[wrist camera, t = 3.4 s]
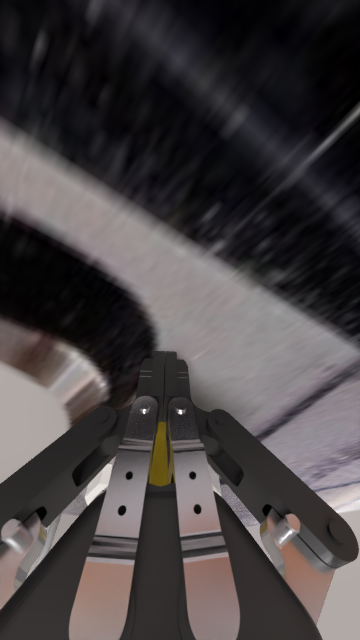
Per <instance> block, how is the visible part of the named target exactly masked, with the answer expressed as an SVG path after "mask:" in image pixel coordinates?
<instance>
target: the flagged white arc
mask: <svg viewBox="0 0 360 640" xmlns="http://www.w3.org/2000/svg"><path fill="white" fill-rule="evenodd" d="M112 466H113V465H112V464H107V465H106V466H105V467H104V468H103V469H102V470H101V471H100V472H99V473H98V474H97V476H96V477H95V478H94V479H93V480H92V481H91V482H90V483H89V485H88V488H87V492H86V496H85V499H86V502H87V505H89V504H90V503H91V502H92V501H93V500H94V499H95V498H96V497H97V496H99V495H100V494H101V493H103V491H102V490H104V489H105V488H106V487H107V486H108V484H109V480H110V475H111V471H112ZM208 468H209V473H210V478H211V483H212V487H213V491H215V492H216V493H218V494H219V495H220V496H221V497H222V494H221V488H220V482H219V476H218V475H217V474H216V472H215V471H214V470H213V469H212V468H211V466H210V465H209V464H208ZM62 512H63V511H62ZM62 512H61V513H60V514H59V515H58V517H57V518H56V519H55V520H54V521H53V522H52V523H51V524H50V527H49V530H48V533H47V539H46V543H45V546H44V548H43V550H42V552H41V554H40V555H39V558H38V561H37V564H36V567H37V566H38V564H39V563H40V562H41V561H42V560H43V558H44V557H45V556H46V555H47V554H48V552H49V551H50V548H51V545H52V542H53V539H54V536H55V533H56V530H57V526H58V524H59V521H60V517H61V515H62ZM36 567H35V568H36Z"/></svg>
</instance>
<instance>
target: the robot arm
mask: <svg viewBox="0 0 360 640" xmlns="http://www.w3.org/2000/svg"><path fill="white" fill-rule="evenodd" d="M164 359H165V366H164ZM162 407H163V421H162V422H166V434H165V438H166V456H167V485H164V486H157V485H153V484H150V482H151V472H152V464H153V456H154V449H155V441H156V435H157V432H158V422H161V420H162ZM116 454H117V455H116ZM115 456H116V458H115V462H114V466H113V469H112V473H111V477H110V480H109V484H108V488H107V490H106V491H105V492H103V493H101V494H100V495H99V496H97V497H96V498H95V499H94V500H93V501H92V502H91V503H90V504H89V505H88V506H87V507H86V508H85V510H84V511H83V512H82V513H81V514H80V516H79V517H78V518H77V519H76V520H75V522H74V523H73V524H72V525H71V526H70V528H69V529H68V530H67V531H66V532H65V533H64V535H63V536H62V537H61V538H60V539H59V541H58V542H57V543H56V544H55V546H54V547H53V548H52V549H51V550H50V551H49V552H48V554H47V555H46V556H45V557H44V558H43V560H42V561H41V562H40V563H39V564H38V566H37V567H36V568H35V569H34V570H33V572H32V573H31V574H30V575H29V576H28V577H27V574H28V572H29V570H30V568H31V566H32V565H33V563H34V562H35V560H36V559H37V558H38V556H39V555H40V554H41V552H42V550H43V548H44V546H45V543H46V539H47V529H46V528H47V527H48V526H49V525H50V524H51V523H52V522H53V521H54V520H55V519H56V518H57V517H58V515H59V514H60V513H61V512H62V511H63V510H64V509H65V508H66V507H67V506H68V505H69V504H70V503H71V502H72V501H73V500H74V499H75V498H76V497H77V495H78V494H79V493H80V492H81V491H82V490H83V489H84V488H85V487H86V486H87V485H88V484H89V483H90V482H91V481H92V480H93V479H94V478H95V477H96V476H97V474H98V473H99V472H100V471H101V470H102V469H103V468H104V467H105V466H106V465H107V464H108V463H109V462H110V461H111V460H112V459H113V458H114V457H115ZM207 461H208V462H209V463H210V465H211V466H212V467H213V468H214V469H215V471H216V472H217V473H218V474H219V475H220V477H221V478H222V479H223V480H224V481H225V482H226V484H227V485H228V486H229V487H230V488H231V490H232V491H233V492H234V493H235V494H236V496H237V497H238V498H239V499H240V500H241V501H242V503H243V504H244V505H245V506H246V507H247V509H248V510H249V511H250V512H251V513H252V515H253V516H254V517H255V518H256V519H257V521H258V522H259V523H260V524H261V525H260V536H261V540H262V543H263V545H264V547H265V548H266V550H267V552H268V553H269V555H270V557H271V559H272V561H273V564H274V565H273V564H272V562H271V561H270V560H269V558H268V557H267V556H266V554H265V553H264V552H263V550H262V549H261V548H260V546H259V545H258V544H257V542H256V541H255V540H254V538H253V537H252V536H251V534H250V533H249V532H248V530H247V529H246V528H245V526H244V525H243V524H242V522H241V521H240V519H239V518H238V517H237V515H236V514H235V513H234V511H233V510H232V509H231V507H230V506H229V505H228V504H227V502H226V501H225V500H224V499H223V498H222V497H221V496H220V495H219V494H218V493H216V492H215V491H213V487H212V483H211V478H210V473H209V468H208V463H207ZM358 552H359V548H358V543H357V539H356V537H355V535H354V533H353V531H352V529H351V528H350V526H349V525H348V524H347V522H346V521H345V520H344V519H343V518H342V517H341V516H340V515H339V514H337V513H336V512H335V511H334V510H333V509H332V508H331V507H330V506H329V505H328V504H327V503H326V502H324V501H323V500H322V499H321V498H320V497H319V496H318V495H317V494H316V493H315V492H314V491H313V490H311V489H310V488H309V487H308V486H307V485H306V484H305V483H304V482H303V481H302V480H301V479H299V478H298V477H297V476H296V475H295V474H294V473H293V472H292V471H291V470H290V469H289V468H288V467H286V466H285V465H284V464H283V463H282V462H281V461H280V460H279V459H278V458H277V457H276V456H275V455H273V454H272V453H271V452H270V451H269V450H268V449H267V448H266V447H265V446H264V445H263V444H261V443H260V442H259V441H258V440H257V439H256V438H255V437H254V436H253V435H252V434H251V433H250V432H248V431H247V430H246V429H245V428H244V427H243V426H242V425H241V424H240V423H239V422H238V421H237V420H235V419H234V418H233V417H232V416H231V415H230V414H229V413H228V412H226V411H224V410H221V409H216V410H213V411H211V412H210V413H209V412H206V411H203V410H201V409H199V408H197V407H196V406H195V405H194V404H193V403H192V401H191V396H190V385H189V375H188V366H187V364H186V362H185V361H184V360H177V353H176V352H169V351H166V353H165V351H154V355H153V359H147V358H145V360H144V361H143V362H142V364H141V369H140V375H139V381H138V387H137V394H136V398H135V400H134V402H133V403H132V404H131V405H129V406H128V407H126V408H123V409H120V410H116V411H115V410H114V409H113V408H111V407H108V406H102V407H99V408H97V409H95V410H94V411H92V412H91V413H90V414H88V415H87V416H86V417H85V418H83V419H82V420H81V421H80V422H78V423H77V424H76V425H75V426H73V427H72V428H71V429H69V430H68V431H67V432H66V433H65V434H63V435H62V436H61V437H59V438H58V439H57V440H56V441H54V442H53V443H52V444H51V445H49V446H48V447H47V448H45V449H44V450H43V451H42V452H40V453H39V454H38V455H37V456H35V457H34V458H33V459H31V460H30V461H29V462H28V463H26V464H25V465H24V466H23V467H21V468H20V469H19V470H18V471H16V472H15V473H14V474H13V475H11V476H10V477H9V478H7V479H6V480H5V481H4V482H2V483H1V484H0V640H322V637H321V635H320V633H319V631H318V628H317V627H316V624H317V622H318V618H319V616H320V613H321V610H322V607H323V604H324V601H325V598H326V596H327V592H328V590H329V587H330V584H331V581H332V578H333V575H334V572H335V570H336V569H337V568H339V567H341V566H343V565H346V564H348V563H350V562H352V561H354V560H355V559H356V558H357V556H358ZM26 577H27V579H26Z"/></svg>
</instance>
